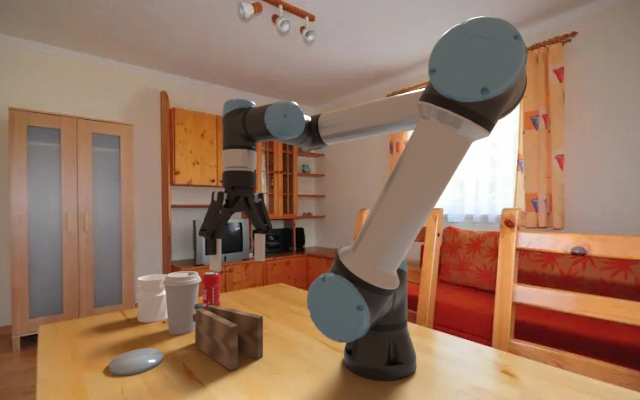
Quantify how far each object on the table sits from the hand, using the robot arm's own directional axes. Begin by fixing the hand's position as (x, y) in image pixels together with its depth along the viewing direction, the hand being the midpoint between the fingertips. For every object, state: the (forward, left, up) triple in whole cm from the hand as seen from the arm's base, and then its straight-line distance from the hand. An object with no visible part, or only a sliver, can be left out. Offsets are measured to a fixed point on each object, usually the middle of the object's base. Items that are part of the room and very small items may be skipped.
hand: (239, 265), depth 75 cm
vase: (+40, -5, -20) cm, 45 cm away
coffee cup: (+24, -3, -20) cm, 31 cm away
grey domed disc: (+16, +14, -20) cm, 29 cm away
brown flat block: (+5, 0, -20) cm, 21 cm away
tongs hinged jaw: (+5, +3, -20) cm, 21 cm away
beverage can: (+30, -18, -20) cm, 40 cm away
